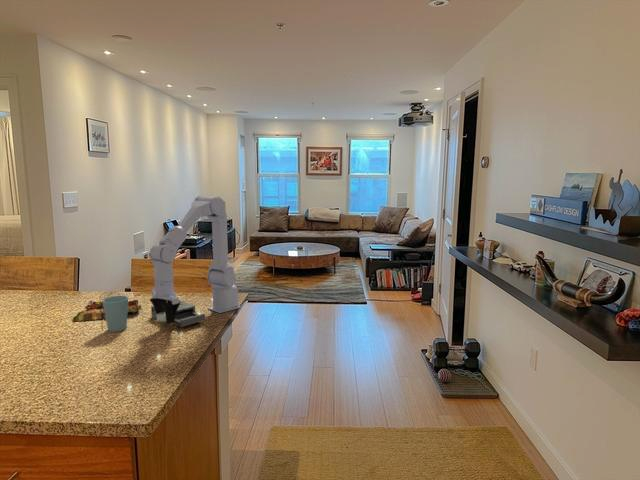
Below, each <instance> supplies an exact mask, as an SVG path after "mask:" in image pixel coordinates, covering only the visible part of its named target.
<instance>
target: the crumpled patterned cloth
mask: <svg viewBox="0 0 640 480" xmlns="http://www.w3.org/2000/svg"><path fill="white" fill-rule="evenodd" d="M138 305H139V306H138ZM141 307H142V305H141V304H139V300H138V299H133V300H128V311H127V313H130V314H135V313H136V312H141V311H142V308H141ZM84 308H85V309H86V311H85V310H81V311H79V312H78V313H77V314H76V315H75V316H74V317H73V319H72V321H73V322H84V321H95V320H98V321H101V320H103V321H104V322H106V317H105V312H104V307H103V302H102V301H93V300H89V301H88V303H87V305H86V306H84ZM140 310H141V311H140Z"/></svg>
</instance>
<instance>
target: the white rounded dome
mask: <svg viewBox="0 0 640 480" xmlns="http://www.w3.org/2000/svg"><path fill="white" fill-rule="evenodd" d="M156 321H157V322H159V323H160V322H167V321H166V315H165V312H161V313H158V314H157V320H156Z"/></svg>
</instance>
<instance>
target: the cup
mask: <svg viewBox="0 0 640 480" xmlns="http://www.w3.org/2000/svg"><path fill="white" fill-rule="evenodd" d="M101 302H103V307H104V312H105V317H106V321H105V322H106V326H107V330H108V332H110V333H119V332H122V331H124V330H127V328H128V326H127V325H128V312H127V311H128V302H129V296H127V295H114V296H109V297H105V298H103V299H102V300H101Z"/></svg>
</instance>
